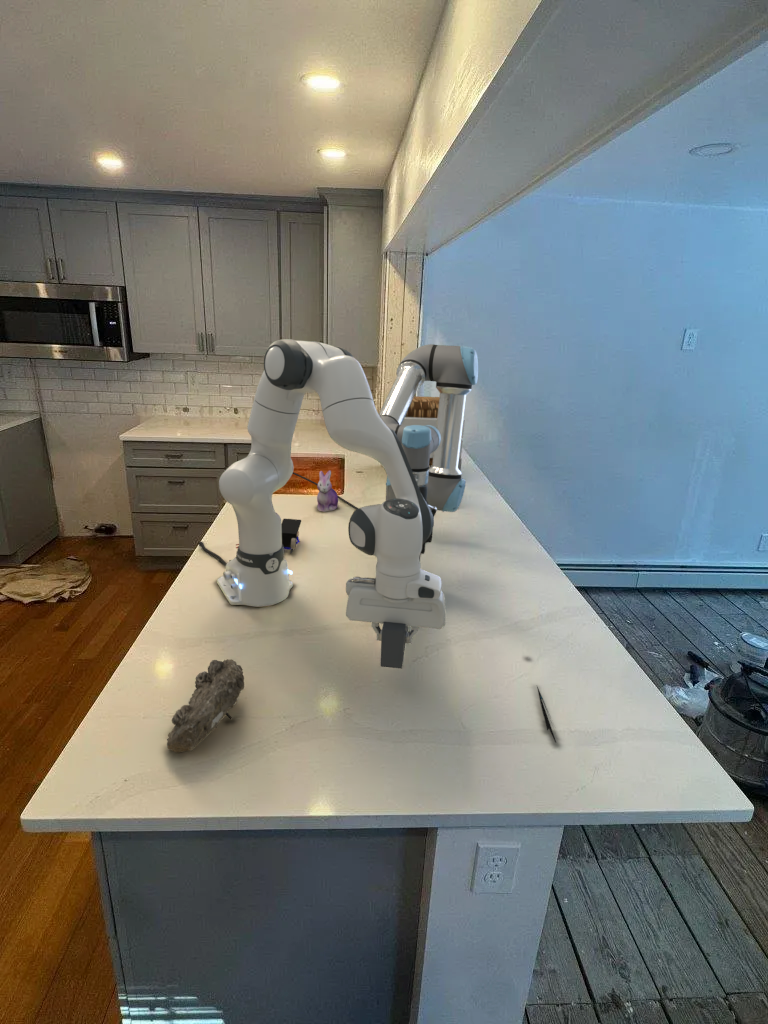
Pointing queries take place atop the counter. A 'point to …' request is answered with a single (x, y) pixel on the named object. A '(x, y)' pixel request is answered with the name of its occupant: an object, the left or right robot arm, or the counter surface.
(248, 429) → the left robot arm
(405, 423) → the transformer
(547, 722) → the feather
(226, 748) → the counter surface
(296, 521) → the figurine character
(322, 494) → the figurine
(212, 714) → the fossil
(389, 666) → the bar
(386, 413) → the right robot arm
